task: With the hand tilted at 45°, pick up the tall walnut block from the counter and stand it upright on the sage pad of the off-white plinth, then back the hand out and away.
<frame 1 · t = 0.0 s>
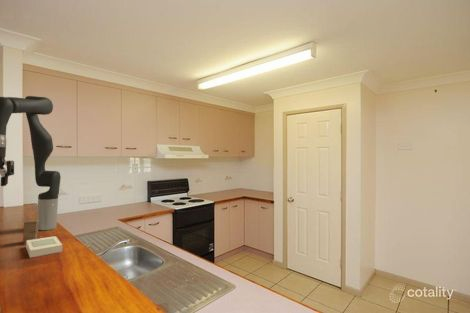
plinth: (43, 249, 111), on the countertop
walnut block: (30, 242, 120), on the countertop
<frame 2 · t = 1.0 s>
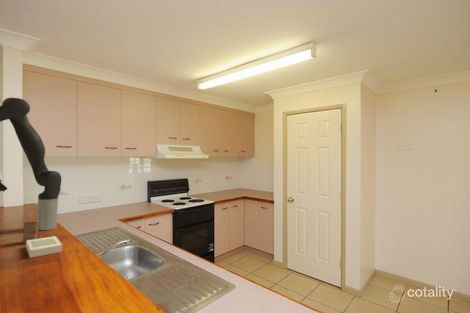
hand: (2, 191, 115), 25 cm above the countertop, tool tilted 45°, fingers open, 8 cm apart
nothing on the countertop moved.
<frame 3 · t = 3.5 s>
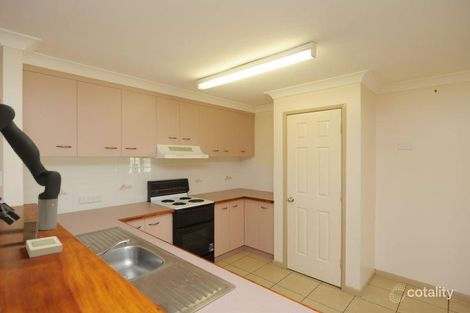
hand: (15, 221, 117), 10 cm above the countertop, tool tilted 45°, fingers open, 8 cm apart
nothing on the countertop moved.
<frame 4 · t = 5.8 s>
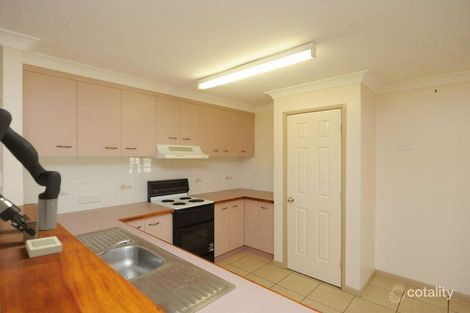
hand: (35, 233, 121), 4 cm above the countertop, tool tilted 45°, fingers closed on walnut block, 4 cm apart
walnut block: (30, 242, 120), on the countertop, touching gripper
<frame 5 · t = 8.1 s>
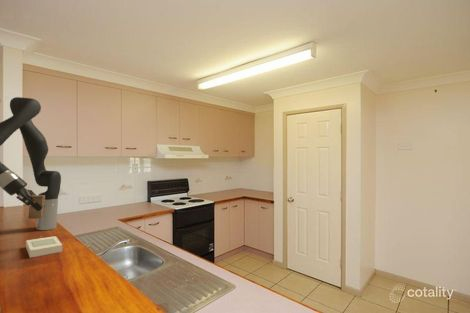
hand: (42, 208, 116), 17 cm above the countertop, tool tilted 45°, fingers closed on walnut block, 4 cm apart
walnut block: (36, 217, 115), point 13 cm above the countertop, touching gripper
when the fingers open (9 cm above the countertop, at t = 10.6 s): walnut block drops 1 cm, resting on plinth.
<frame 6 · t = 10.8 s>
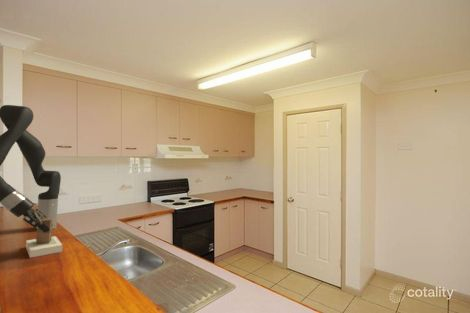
hand: (49, 228, 112), 9 cm above the countertop, tool tilted 45°, fingers open, 6 cm apart
walnut block: (43, 242, 111), point 3 cm above the countertop, touching plinth
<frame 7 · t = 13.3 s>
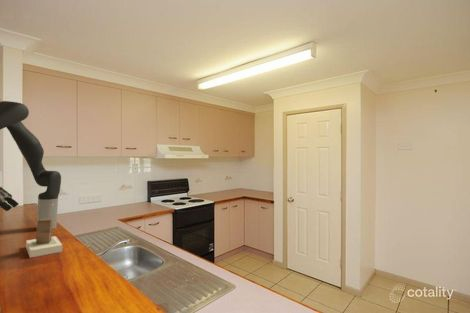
hand: (13, 207, 106), 19 cm above the countertop, tool tilted 45°, fingers open, 8 cm apart
nothing on the countertop moved.
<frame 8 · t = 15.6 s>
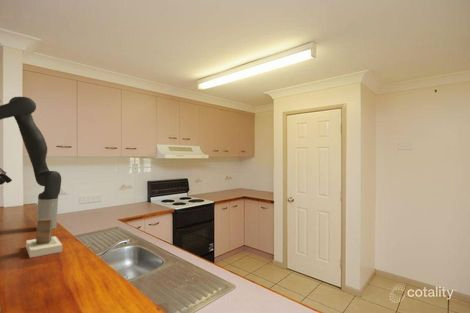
hand: (6, 182, 116), 29 cm above the countertop, tool tilted 45°, fingers open, 8 cm apart
nothing on the countertop moved.
at the end: walnut block inside the target area on the plinth (0.1 cm from its centre), point 3.2 cm above the plinth's base; walnut block tilted 0°; the gripper is holding nothing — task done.
